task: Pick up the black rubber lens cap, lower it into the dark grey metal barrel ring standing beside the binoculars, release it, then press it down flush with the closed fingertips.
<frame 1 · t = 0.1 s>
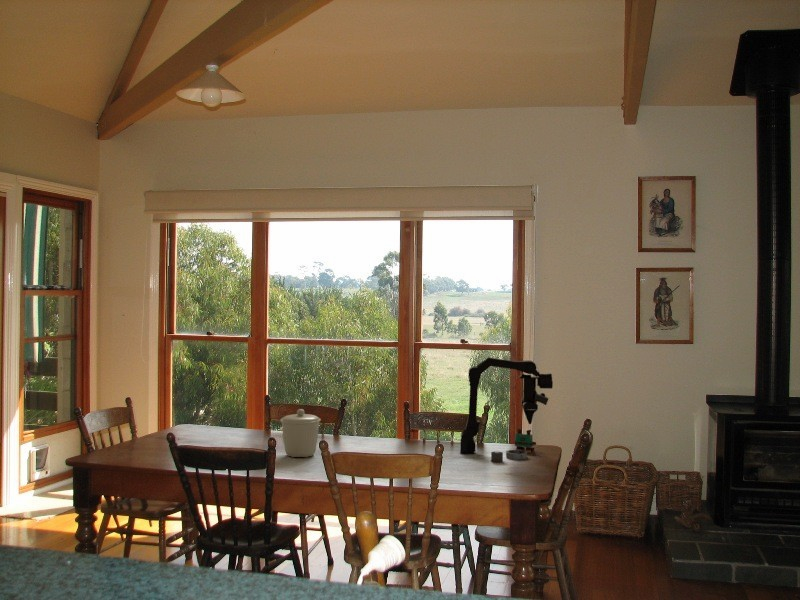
hand: (529, 422, 344), 15 cm above the table, fingers open, 9 cm apart
barrel ring: (516, 457, 337), on the table
canister: (300, 456, 339), on the table
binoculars: (525, 451, 352), on the table
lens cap: (497, 461, 329), on the table
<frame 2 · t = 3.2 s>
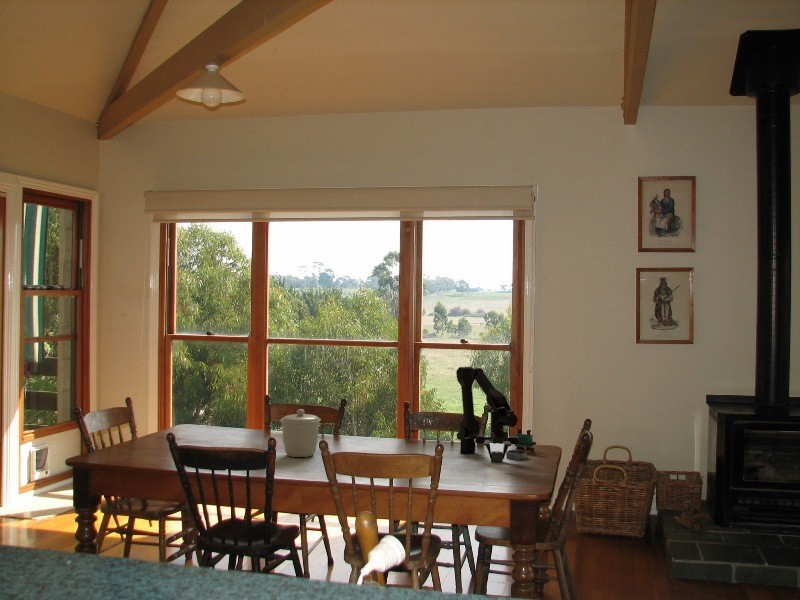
hand: (496, 459, 329), 1 cm above the table, fingers closed on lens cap, 5 cm apart
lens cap: (496, 461, 329), on the table, touching gripper
everything else where it was.
when the fingers open (3 cm above the table, at t = 7.4 s): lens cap drops 2 cm, resting in barrel ring.
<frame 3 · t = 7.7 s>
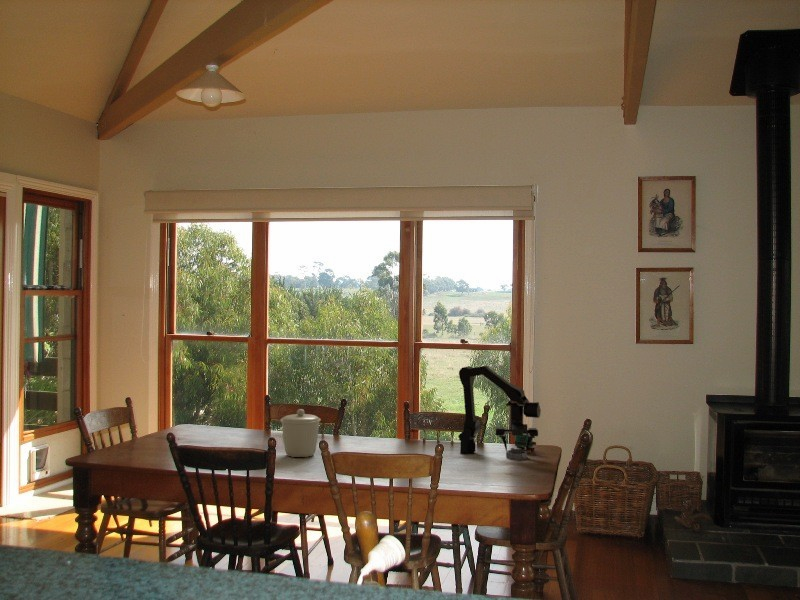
hand: (516, 450, 337), 3 cm above the table, fingers open, 9 cm apart
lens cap: (516, 457, 337), resting in barrel ring
everything else where it was.
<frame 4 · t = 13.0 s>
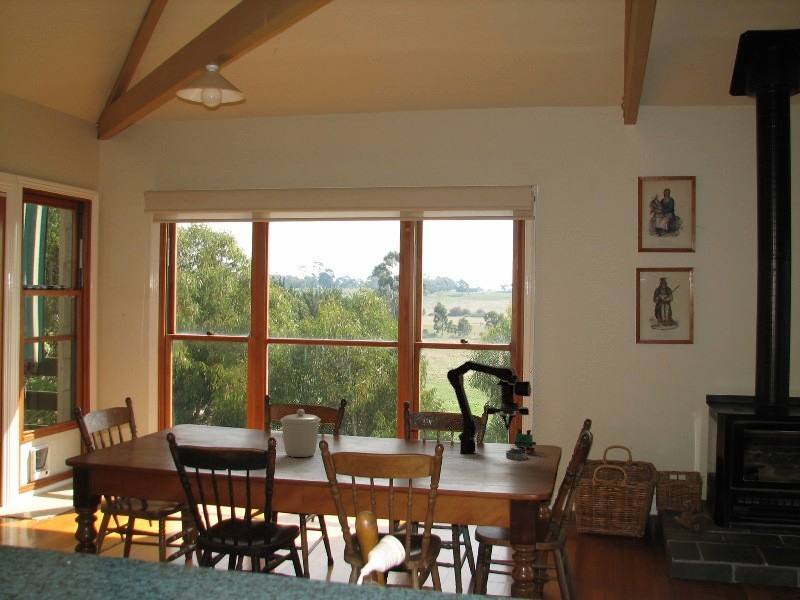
hand: (507, 429, 339), 12 cm above the table, fingers closed
nothing on the table moved.
at the end: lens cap 0.1 cm from the barrel ring (horizontally); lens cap resting in barrel ring; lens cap tilted 0° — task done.
